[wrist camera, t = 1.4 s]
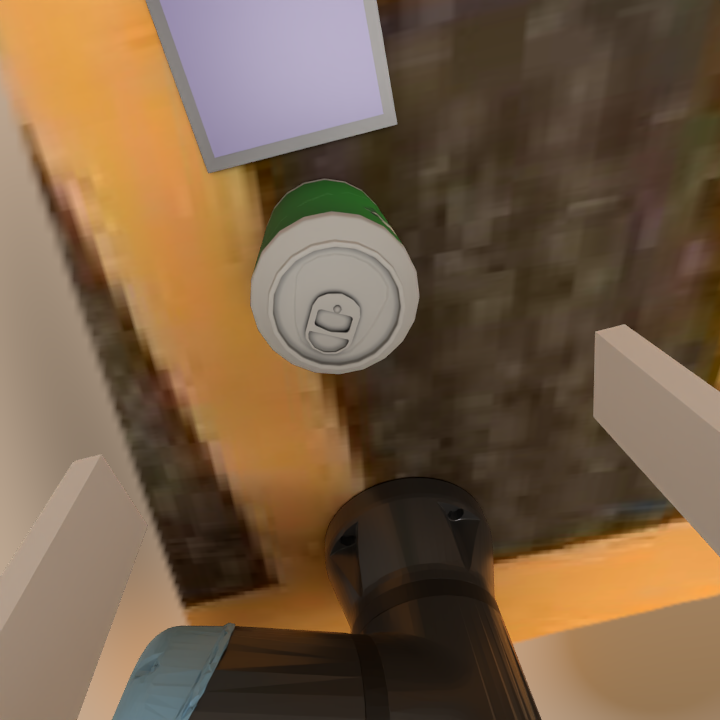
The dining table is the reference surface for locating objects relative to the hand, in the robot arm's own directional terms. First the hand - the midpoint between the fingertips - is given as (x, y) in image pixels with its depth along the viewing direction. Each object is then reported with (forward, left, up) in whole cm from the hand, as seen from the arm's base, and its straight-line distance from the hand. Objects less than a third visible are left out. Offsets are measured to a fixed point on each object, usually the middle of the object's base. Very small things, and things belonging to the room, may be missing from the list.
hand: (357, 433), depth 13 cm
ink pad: (+11, 0, -20) cm, 23 cm away
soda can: (0, 0, -21) cm, 21 cm away
